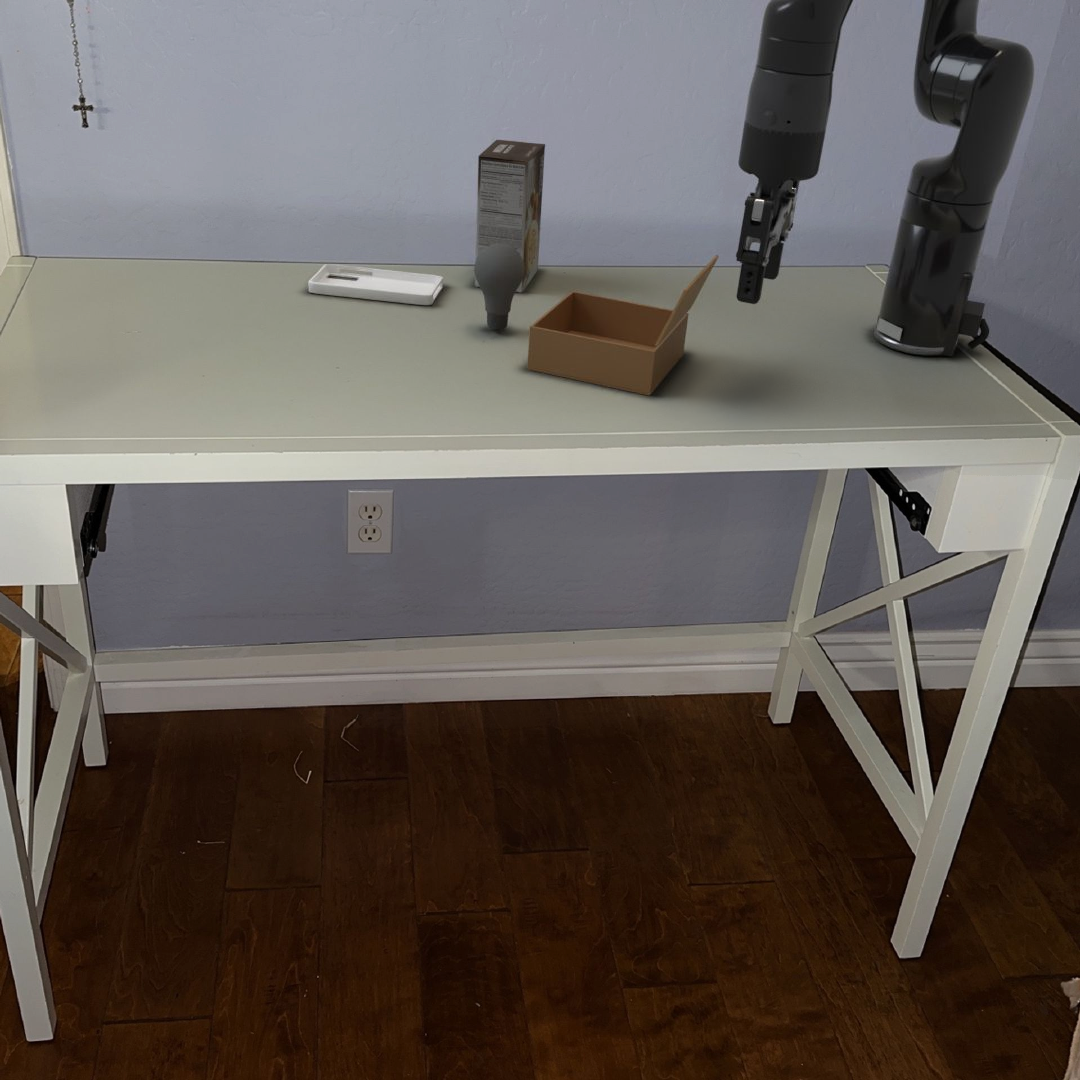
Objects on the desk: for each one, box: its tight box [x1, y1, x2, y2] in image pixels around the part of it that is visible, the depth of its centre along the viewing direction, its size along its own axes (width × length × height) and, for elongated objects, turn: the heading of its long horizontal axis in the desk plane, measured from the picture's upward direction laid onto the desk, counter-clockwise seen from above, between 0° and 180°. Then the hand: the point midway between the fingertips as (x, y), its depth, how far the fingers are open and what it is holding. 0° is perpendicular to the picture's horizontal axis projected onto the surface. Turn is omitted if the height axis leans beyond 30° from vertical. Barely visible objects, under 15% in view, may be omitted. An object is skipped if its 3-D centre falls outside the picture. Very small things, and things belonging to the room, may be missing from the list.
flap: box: [655, 254, 720, 347], centre depth 119 cm, size 7×12×1 cm
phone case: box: [307, 263, 444, 306], centre depth 141 cm, size 7×1×15 cm
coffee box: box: [474, 139, 546, 293], centre depth 143 cm, size 9×6×16 cm
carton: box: [526, 290, 689, 396], centre depth 125 cm, size 14×13×5 cm
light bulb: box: [473, 243, 525, 333], centre depth 129 cm, size 6×6×10 cm
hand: (757, 289), depth 116 cm, fingers open, 8 cm apart
